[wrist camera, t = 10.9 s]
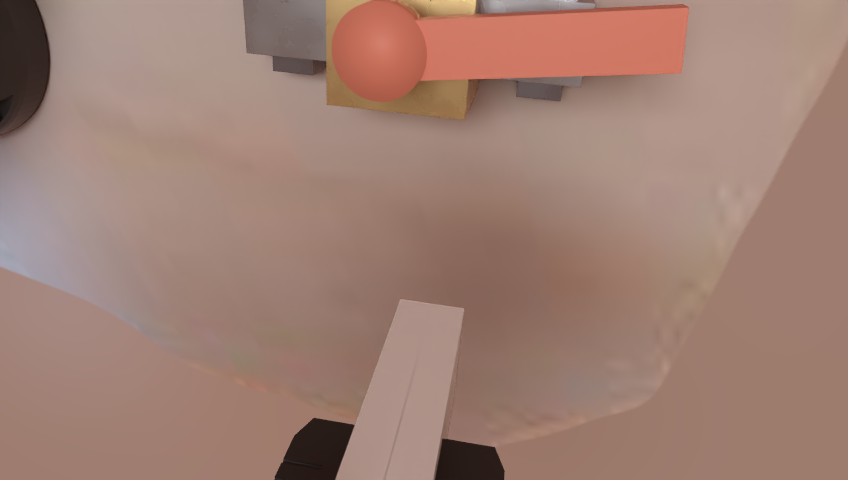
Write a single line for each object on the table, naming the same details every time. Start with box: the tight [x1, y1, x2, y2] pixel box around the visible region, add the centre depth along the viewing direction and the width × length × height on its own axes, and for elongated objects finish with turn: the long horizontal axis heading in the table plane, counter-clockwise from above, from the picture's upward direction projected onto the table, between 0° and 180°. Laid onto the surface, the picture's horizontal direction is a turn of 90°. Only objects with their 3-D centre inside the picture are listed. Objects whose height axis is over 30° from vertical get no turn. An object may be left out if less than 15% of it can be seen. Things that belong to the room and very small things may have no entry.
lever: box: [331, 0, 689, 102], centre depth 25 cm, size 14×4×2 cm, turn 93°
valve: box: [243, 0, 596, 120], centre depth 31 cm, size 18×7×9 cm, turn 86°
